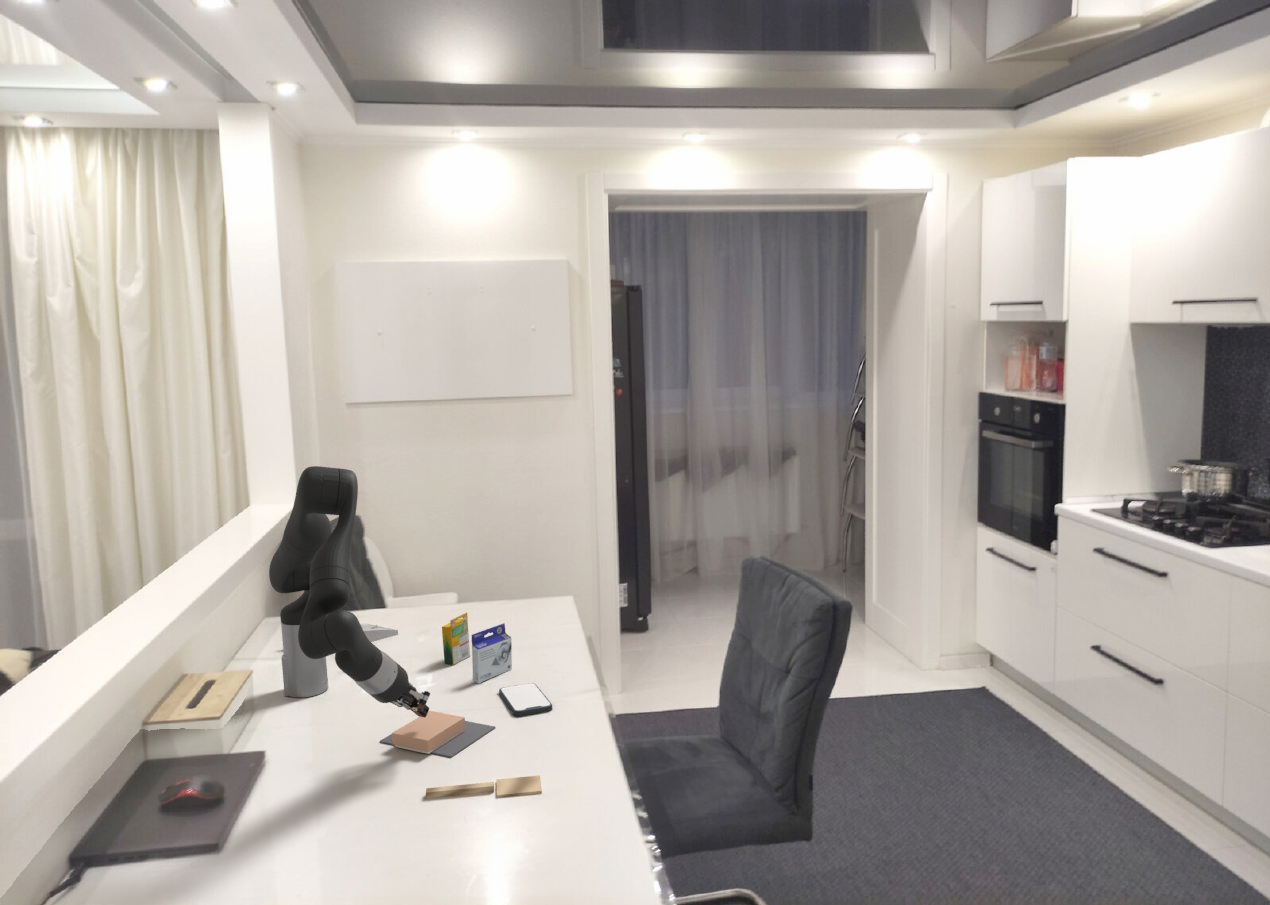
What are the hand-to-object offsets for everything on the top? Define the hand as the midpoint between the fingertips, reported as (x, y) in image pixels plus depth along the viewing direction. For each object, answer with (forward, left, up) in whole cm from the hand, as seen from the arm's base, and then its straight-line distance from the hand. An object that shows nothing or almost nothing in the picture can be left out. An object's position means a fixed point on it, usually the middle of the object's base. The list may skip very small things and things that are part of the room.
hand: (424, 712), depth 195 cm
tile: (-3, -4, -5) cm, 7 cm away
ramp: (-26, +70, -7) cm, 75 cm away
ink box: (+13, +35, -7) cm, 38 cm away
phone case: (+20, +18, -7) cm, 28 cm away
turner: (+12, -23, -6) cm, 27 cm away
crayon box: (+4, +48, -7) cm, 49 cm away
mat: (+2, +3, -6) cm, 8 cm away
